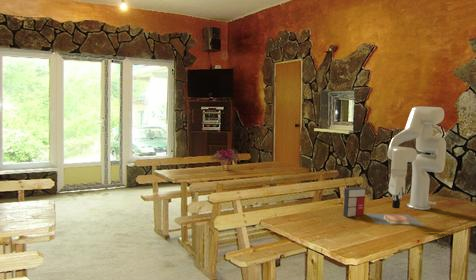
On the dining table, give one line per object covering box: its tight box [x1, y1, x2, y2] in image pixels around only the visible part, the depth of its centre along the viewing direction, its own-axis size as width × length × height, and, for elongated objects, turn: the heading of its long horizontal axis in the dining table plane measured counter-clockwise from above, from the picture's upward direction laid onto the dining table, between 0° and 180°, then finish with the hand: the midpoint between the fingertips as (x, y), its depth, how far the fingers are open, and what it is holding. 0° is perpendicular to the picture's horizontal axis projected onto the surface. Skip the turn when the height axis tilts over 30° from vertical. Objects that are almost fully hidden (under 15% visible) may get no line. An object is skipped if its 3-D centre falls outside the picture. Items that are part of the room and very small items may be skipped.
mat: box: [364, 212, 426, 226], centre depth 216 cm, size 24×19×1 cm
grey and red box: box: [342, 186, 366, 218], centre depth 221 cm, size 11×4×15 cm, turn 112°
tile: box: [384, 215, 411, 225], centre depth 211 cm, size 10×2×9 cm
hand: (395, 207), depth 214 cm, fingers closed
